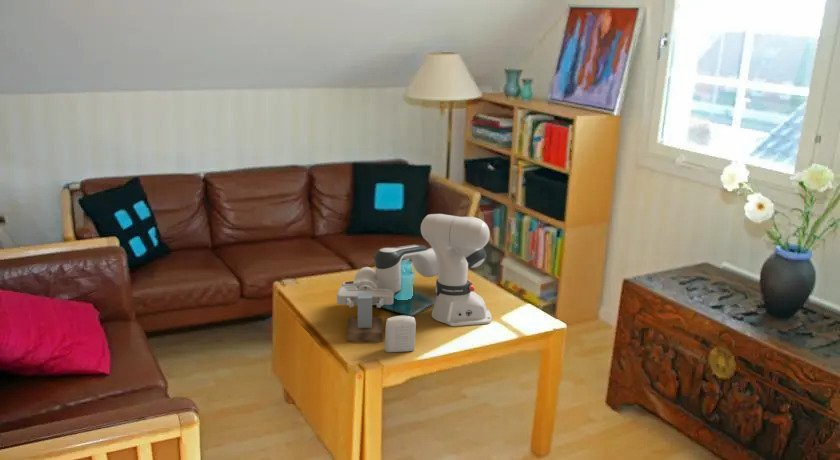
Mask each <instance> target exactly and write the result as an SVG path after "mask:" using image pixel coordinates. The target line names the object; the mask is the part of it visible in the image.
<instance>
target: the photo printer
mask: <svg viewBox="0 0 840 460" xmlns="http://www.w3.org/2000/svg"><path fill="white" fill-rule="evenodd" d="M416 326H417V322H416V318H415V317H414V316H411V315H396V316H392V317H391V316H390V317H388V318H387V319H386V321H385V337H384V351H385V352H386V353H401V352H413V351H415V350H416V349H415V348H416V347H415V346H416V330H417V328H416Z"/></svg>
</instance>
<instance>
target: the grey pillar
mask: <svg viewBox="0 0 840 460" xmlns="http://www.w3.org/2000/svg"><path fill="white" fill-rule="evenodd" d="M357 318H358V328H372V318H373V305H372V293H358V305H357Z"/></svg>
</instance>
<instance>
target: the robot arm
mask: <svg viewBox="0 0 840 460" xmlns="http://www.w3.org/2000/svg"><path fill="white" fill-rule="evenodd" d="M420 233H421V236H422V238H423V239H424V240H425V241H426V242H427V243H428V244H429V246H431V247H430V248H428V247H427V246H426V245H423V244H411V245H410V244H409V245H401V246H396V247H382V248H379V249H378V250H377V251H376V252H375V254H374V255H373V262H374V269H375V270H374V269H373V268H372V267H369V266H363V267H361V268H359V269H358V270H357V272H356V273H355V275H354V280H352V281H344V282H342V283H341V287H339V288H338V290H337V293H336V304H337V305H338V306H339V305H340V306H343V305H346V306H349V308H351V309H352V308H354V307H355V306H358V293H372V306H376V308H377V309H381V308H382V306H392V305H393V304H394V299H395V298H394V297H395V296H396V295H398V294H399V293H400V292H401V291H402V289H401V277H402V260H403V259H408V258H410V259H411V261H412V265H413V267H414V269H415V271H416V272H417V273H418V274H419V275H421V276H423V277H425V278H432V277H436V276H437V278H436V281H435V282H436V283H435V300H434V301H435V302H434V305H433V309H432V311H431V317H432V319H434V320H435V321H437V322H440V323H444V324H446V325H448V326H449V327H463V326H476V325H487V324H490V323H491V322H492V319H493V317H492V313H491V311H490V310H489V309H488V308H487V306H486V302H485V301H484V299H483V297H482V296H481V295H479V294H478V293H476V292H475V290H476V287H475V286H474V285H473V283H472V281H471V280H470V279H468V273H469V269H473V268H474V269H475V268H477V267H480V265H482V264H483V263H484V262H485V260H486V259H487V258H486V257H487V252H486V250H485V248H484V247H486V245H487V244H488V242H489V240H490V237H491V236H490V235H491V232H490V228H489V226H488V224H487V223H486V222H485V221H484V220H482V219H480V218H478V217H475V216H457V215H450V214H445V213H431V214H430V213H429V214H427V215H426V216H425V217H424V218H423V219H422V222H421V223H420Z"/></svg>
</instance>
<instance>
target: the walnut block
mask: <svg viewBox="0 0 840 460" xmlns="http://www.w3.org/2000/svg"><path fill="white" fill-rule="evenodd" d="M346 333H347V334H346V335H347V336H346V339H347V341H346V342H347V343H356V342H357V343H383V318H381V317H372V328H358V317H348V318H347V331H346Z"/></svg>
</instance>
